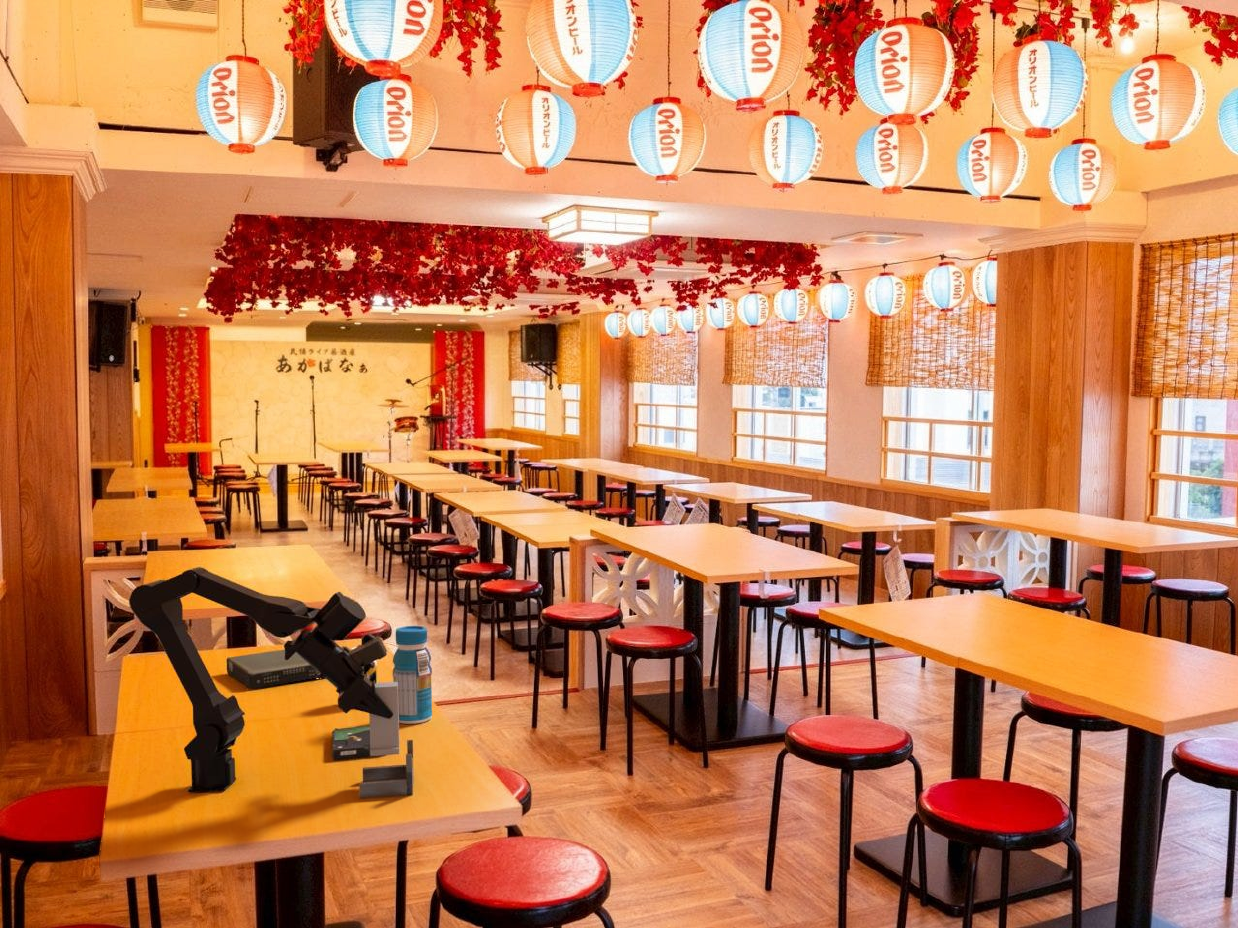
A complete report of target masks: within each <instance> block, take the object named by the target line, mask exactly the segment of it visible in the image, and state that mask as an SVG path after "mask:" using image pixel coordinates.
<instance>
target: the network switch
mask: <svg viewBox="0 0 1238 928" xmlns="http://www.w3.org/2000/svg"><path fill="white" fill-rule="evenodd" d="M226 672H227V675H228V674H229V675H228V676H230V675H231V676H230V677H233V678H234V679H236V680H237V681H239V682H240V683H242V685H243V684H244V685H245V686H244V685H243V686H244V687H246V688H247V689H248V691H251V690H250V689H255V690H259V688H261V689H265V688H264V687H266V688H270V687H269V686H272V687H275V686H274V685H277V686H280V685H279V684H281V685H285V684H289V682H291V683H296V682H295V681H297V682H302V681H301V680H305V681H307V680H306V679H311V680H313V679H312V678H320V677H319V676H318V675H319V672H318V671H317V670H315V669H314V668H313V667H312V666H311V665H310V664H309V663H307V662H306V661H305V660H304V659H303V658H302V657H301V656H299V655H298V654H297V653H295V654H294V655H293V656H292V657H291V658H290V659H289V660H285V649H279V650H272V651H271V650H269V651H264V652H258V653H256V652H255V653H251V654H245V655H237V656H231V657H227V658H226ZM284 683H285V684H284Z"/></svg>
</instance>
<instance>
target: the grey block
mask: <svg viewBox="0 0 1238 928" xmlns="http://www.w3.org/2000/svg"><path fill="white" fill-rule="evenodd" d="M375 691H376V693H377V694H378V695H379V697H380V698H381V699H382V700H383V701H384V703H385V704H386V705H387V706H388V708H389V709H390V710H391V711H392V713H393V716H392V717H391V718H390V719H387V718H384V717H381V716H377V715H374V714H370V713H368V715H369V725H370V756H377V757H381V756H380V755H386V756H392V755H394V756H395V755H400V723H399V711H398V682H393V681H390V682H389V681H388V682H378V683H375Z"/></svg>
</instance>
